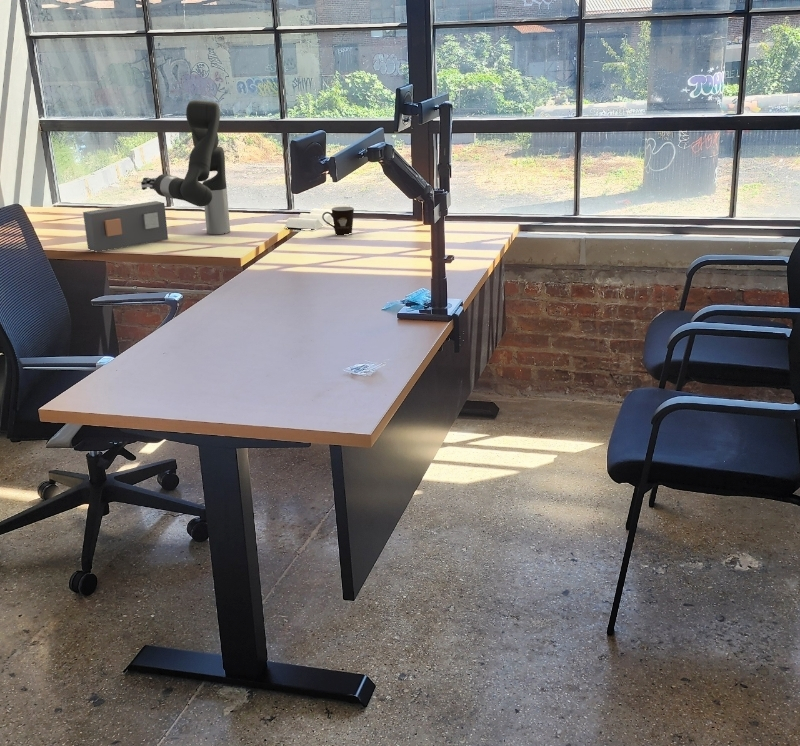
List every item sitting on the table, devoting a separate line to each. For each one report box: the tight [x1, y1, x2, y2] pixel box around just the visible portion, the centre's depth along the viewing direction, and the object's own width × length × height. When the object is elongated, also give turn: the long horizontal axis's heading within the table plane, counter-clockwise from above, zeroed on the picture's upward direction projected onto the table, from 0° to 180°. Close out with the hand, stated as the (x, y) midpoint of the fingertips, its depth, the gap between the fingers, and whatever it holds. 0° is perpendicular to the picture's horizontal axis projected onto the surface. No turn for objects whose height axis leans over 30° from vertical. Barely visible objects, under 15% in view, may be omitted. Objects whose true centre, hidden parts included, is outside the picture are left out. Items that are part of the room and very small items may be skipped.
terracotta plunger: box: [104, 219, 122, 236], centre depth 338 cm, size 10×6×6 cm, turn 44°
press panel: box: [82, 200, 169, 252], centre depth 344 cm, size 6×30×14 cm, turn 134°
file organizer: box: [284, 202, 351, 231], centre depth 381 cm, size 13×35×5 cm, turn 158°
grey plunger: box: [143, 212, 159, 229], centre depth 349 cm, size 10×6×6 cm, turn 44°
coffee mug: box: [322, 206, 355, 236], centre depth 357 cm, size 12×9×10 cm
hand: (145, 180), depth 324 cm, fingers closed
